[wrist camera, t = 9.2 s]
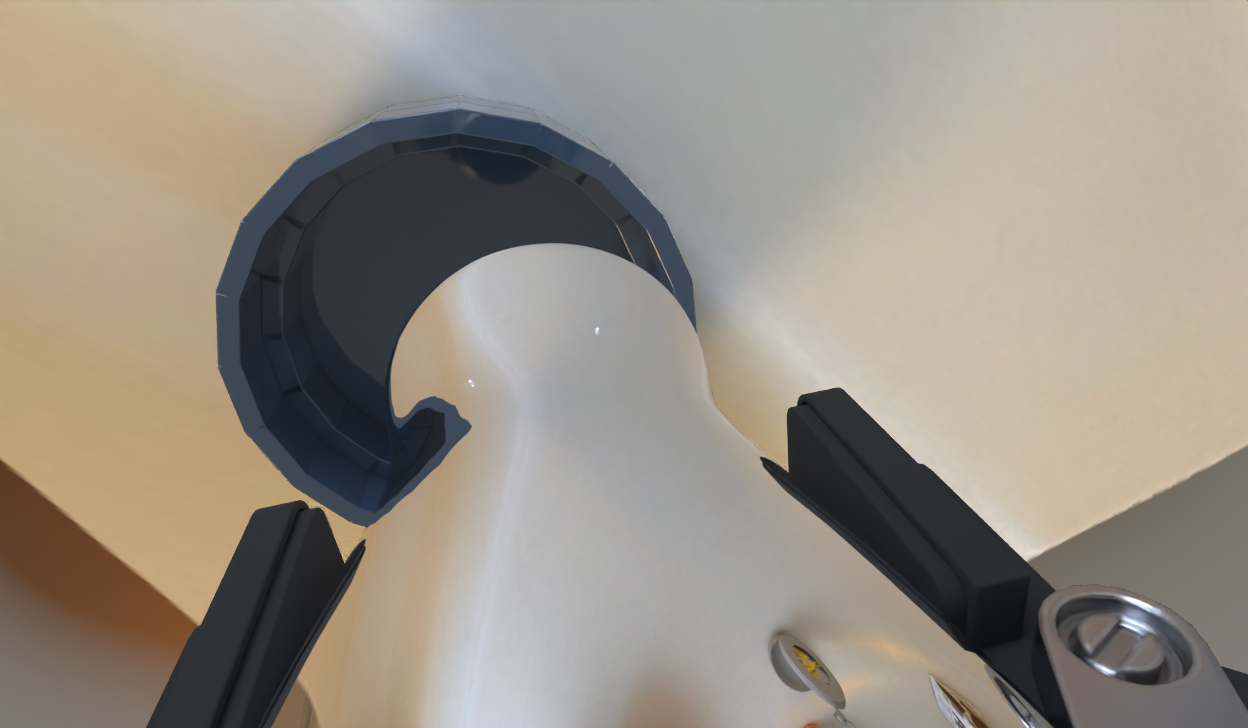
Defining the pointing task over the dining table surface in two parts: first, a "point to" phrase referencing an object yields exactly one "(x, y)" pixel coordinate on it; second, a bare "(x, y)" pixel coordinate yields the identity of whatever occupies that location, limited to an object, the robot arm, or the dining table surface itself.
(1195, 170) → the dining table surface
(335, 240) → the bowl
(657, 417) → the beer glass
